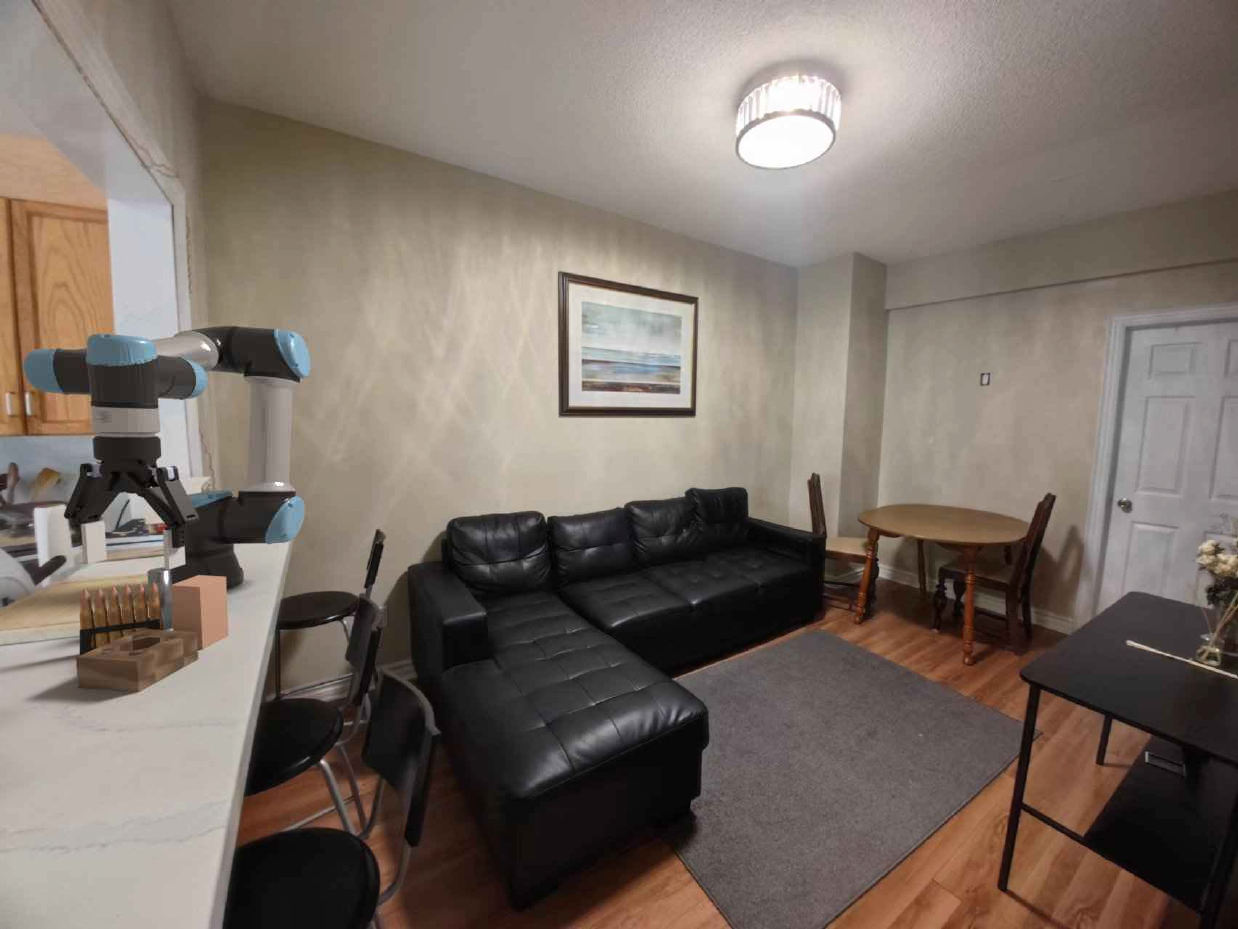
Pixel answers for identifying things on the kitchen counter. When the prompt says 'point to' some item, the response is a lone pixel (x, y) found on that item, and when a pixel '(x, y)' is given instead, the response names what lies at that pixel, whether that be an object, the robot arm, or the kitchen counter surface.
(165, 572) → the round peg
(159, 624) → the ammunition clip
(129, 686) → the bore block
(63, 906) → the kitchen counter surface
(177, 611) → the square peg
